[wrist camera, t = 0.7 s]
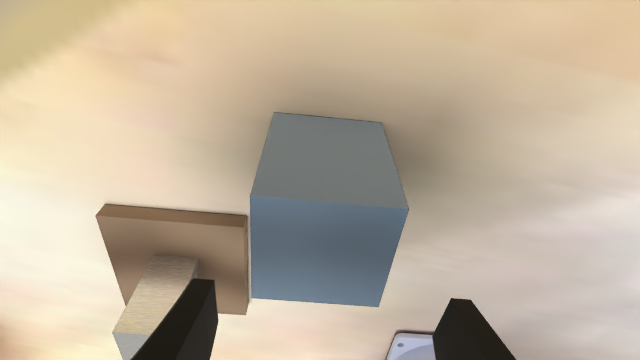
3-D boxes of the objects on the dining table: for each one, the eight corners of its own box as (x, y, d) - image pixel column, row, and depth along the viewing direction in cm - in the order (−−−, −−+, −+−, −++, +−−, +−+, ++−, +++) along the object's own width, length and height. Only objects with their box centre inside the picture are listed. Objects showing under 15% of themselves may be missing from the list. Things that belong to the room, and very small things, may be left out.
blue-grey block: (363, 206, 20) (378, 306, 15) (271, 198, 20) (251, 298, 14) (381, 122, 17) (408, 208, 12) (274, 112, 17) (250, 195, 11)
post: (202, 286, 22) (175, 364, 18) (160, 283, 22) (123, 361, 18) (198, 257, 21) (168, 335, 17) (154, 254, 21) (112, 332, 17)
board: (248, 302, 25) (245, 315, 24) (132, 294, 25) (125, 306, 24) (246, 215, 20) (243, 227, 20) (104, 204, 20) (95, 215, 19)
